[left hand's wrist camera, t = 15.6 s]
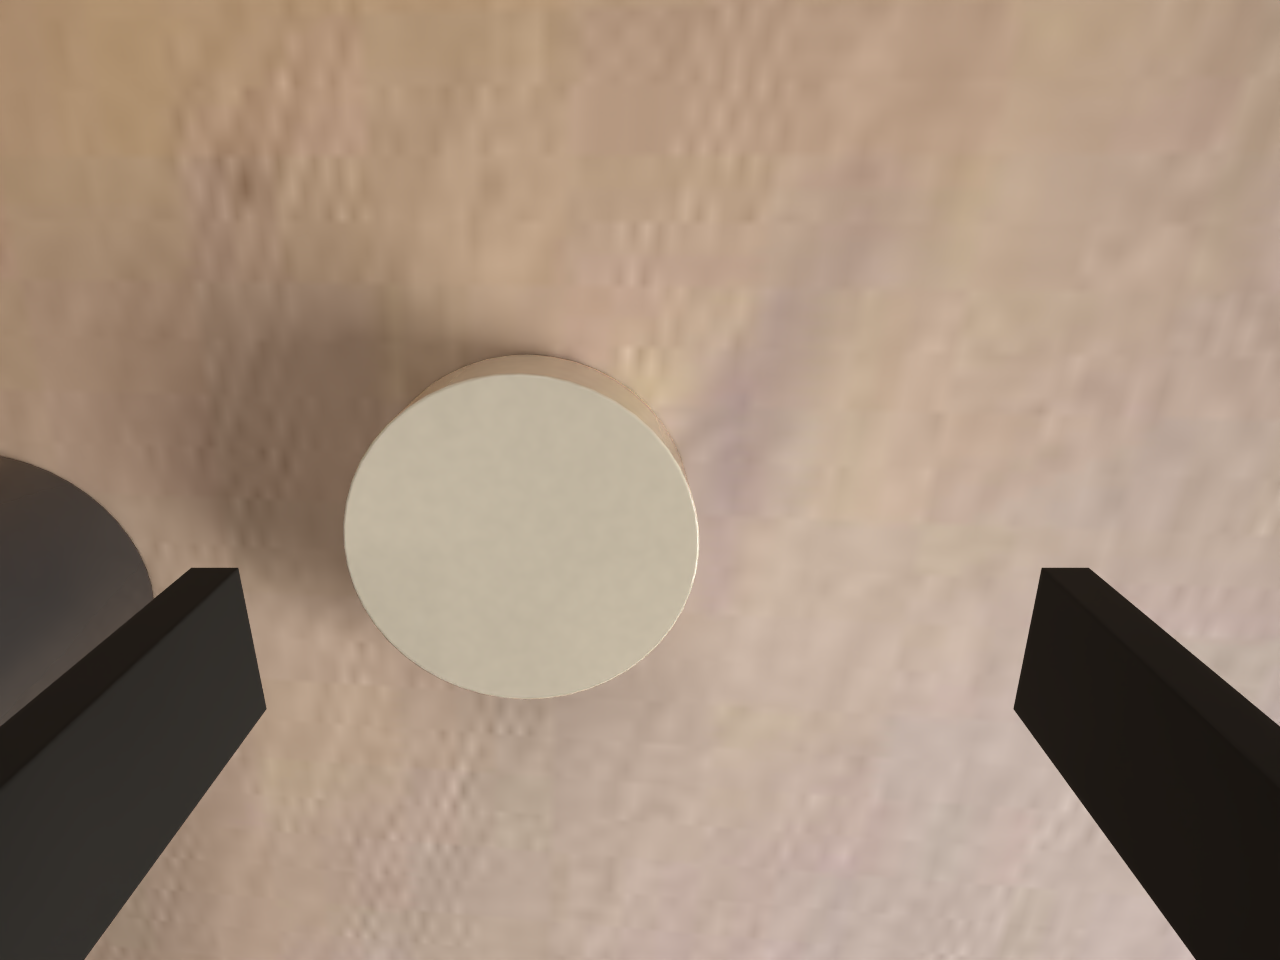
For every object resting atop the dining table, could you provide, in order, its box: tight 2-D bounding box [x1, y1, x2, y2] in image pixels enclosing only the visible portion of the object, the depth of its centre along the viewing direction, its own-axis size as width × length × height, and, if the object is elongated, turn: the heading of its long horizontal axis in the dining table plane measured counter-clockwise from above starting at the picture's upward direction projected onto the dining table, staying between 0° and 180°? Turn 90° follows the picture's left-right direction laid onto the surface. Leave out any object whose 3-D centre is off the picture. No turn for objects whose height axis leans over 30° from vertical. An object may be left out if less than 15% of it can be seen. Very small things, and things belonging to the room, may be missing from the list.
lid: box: [343, 355, 699, 699], centre depth 23 cm, size 10×10×3 cm
